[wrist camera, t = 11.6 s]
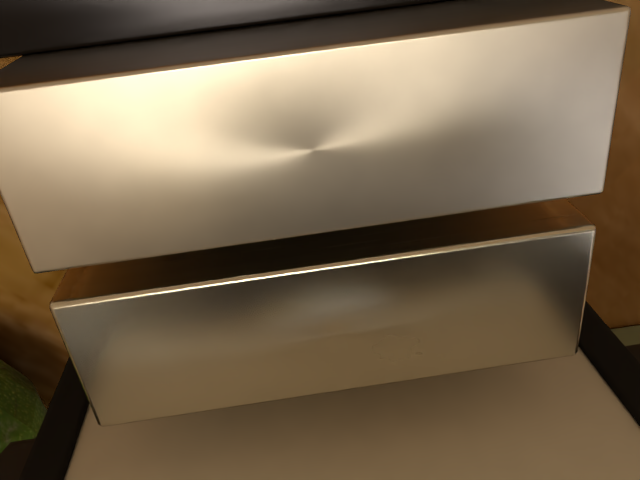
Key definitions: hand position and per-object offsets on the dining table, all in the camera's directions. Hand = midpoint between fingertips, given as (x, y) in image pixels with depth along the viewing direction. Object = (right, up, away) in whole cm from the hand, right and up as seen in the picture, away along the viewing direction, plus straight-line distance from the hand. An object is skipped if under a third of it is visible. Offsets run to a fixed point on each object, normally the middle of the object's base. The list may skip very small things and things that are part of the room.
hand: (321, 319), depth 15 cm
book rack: (-1, +4, +5) cm, 7 cm away
